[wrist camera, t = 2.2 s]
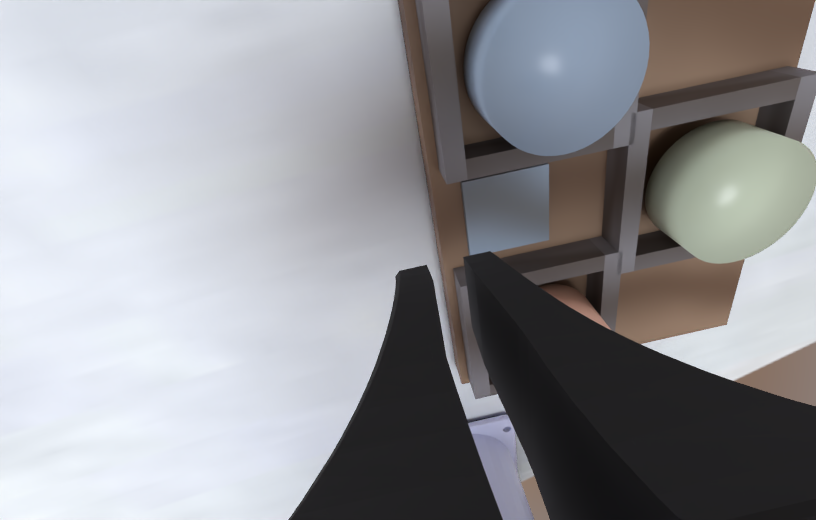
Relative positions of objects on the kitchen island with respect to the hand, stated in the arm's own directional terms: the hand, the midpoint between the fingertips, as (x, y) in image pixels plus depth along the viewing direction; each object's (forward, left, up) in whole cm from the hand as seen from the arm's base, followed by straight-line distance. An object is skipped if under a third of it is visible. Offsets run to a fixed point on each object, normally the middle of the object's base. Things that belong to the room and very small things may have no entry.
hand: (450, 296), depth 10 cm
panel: (-3, -8, -10) cm, 14 cm away
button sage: (-3, -12, -8) cm, 15 cm away
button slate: (+3, -5, -8) cm, 10 cm away
